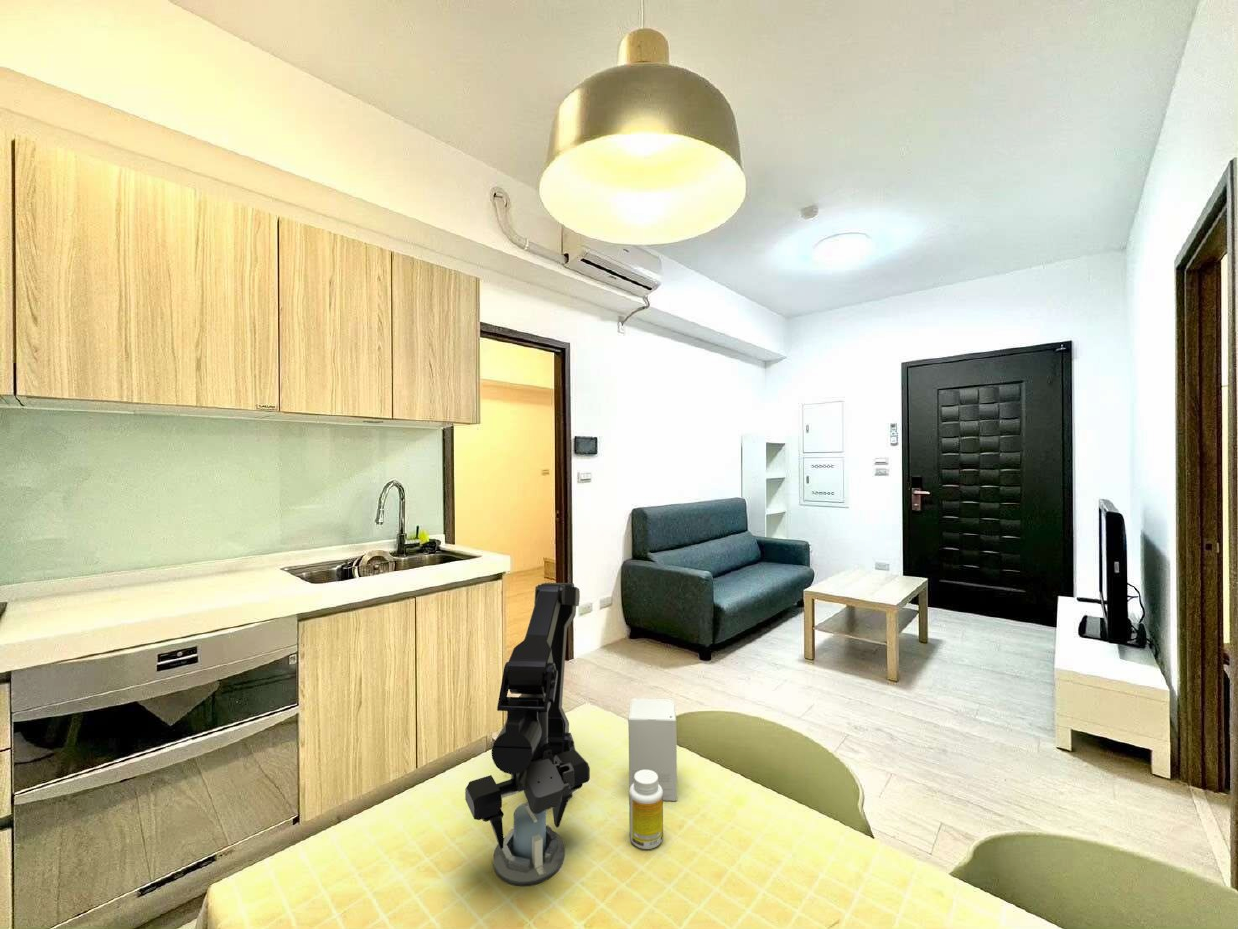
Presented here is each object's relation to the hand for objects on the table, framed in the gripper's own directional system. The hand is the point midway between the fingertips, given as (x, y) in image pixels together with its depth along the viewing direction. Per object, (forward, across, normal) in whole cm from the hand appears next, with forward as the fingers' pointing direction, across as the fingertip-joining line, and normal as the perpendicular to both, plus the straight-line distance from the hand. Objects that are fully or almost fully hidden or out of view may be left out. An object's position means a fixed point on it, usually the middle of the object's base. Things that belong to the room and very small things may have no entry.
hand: (529, 836), depth 80 cm
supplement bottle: (+4, +18, -6) cm, 19 cm away
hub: (+3, 0, 0) cm, 3 cm away
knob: (+2, 0, 0) cm, 2 cm away
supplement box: (+4, +27, +5) cm, 28 cm away
